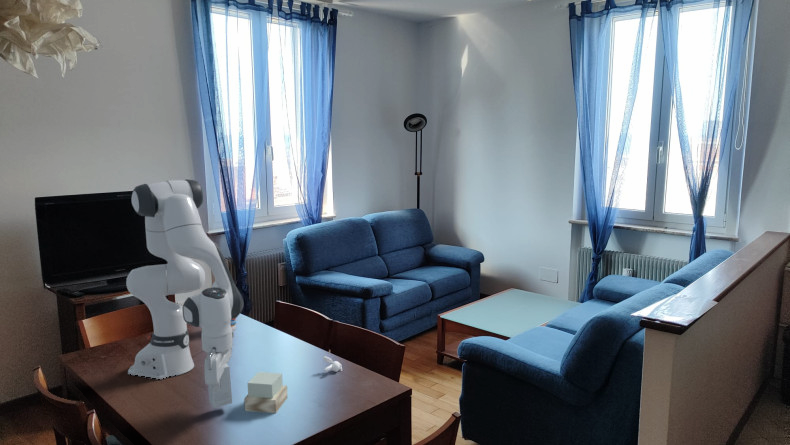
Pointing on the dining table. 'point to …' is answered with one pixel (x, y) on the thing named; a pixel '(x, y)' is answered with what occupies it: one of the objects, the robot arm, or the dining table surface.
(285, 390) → the birch base block
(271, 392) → the sage top block
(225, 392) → the skincare box
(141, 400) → the dining table surface
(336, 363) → the rabbit figurine
